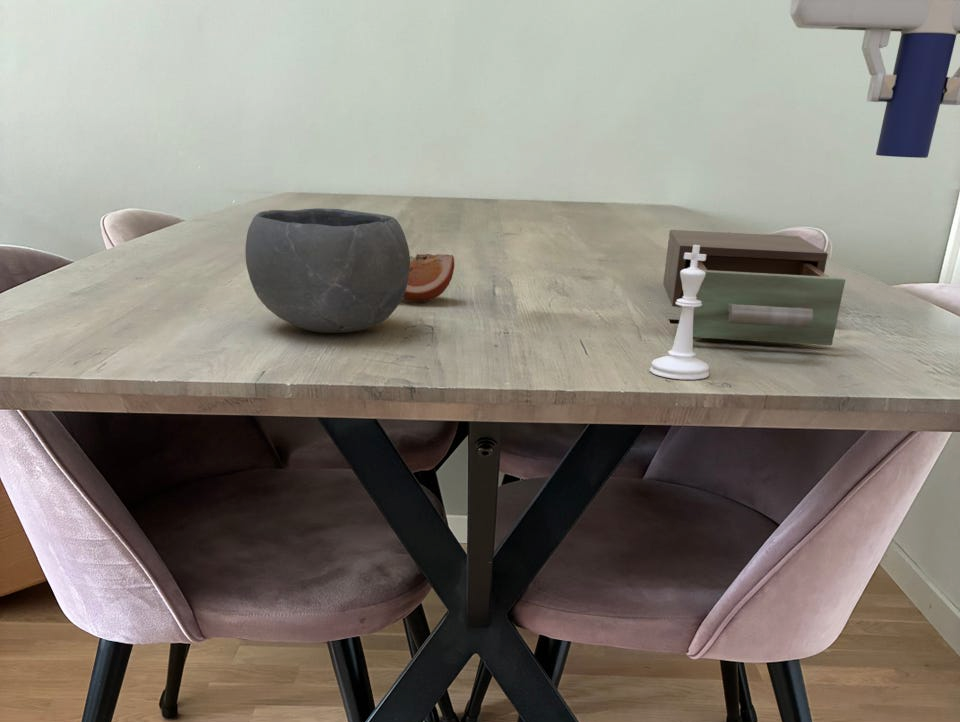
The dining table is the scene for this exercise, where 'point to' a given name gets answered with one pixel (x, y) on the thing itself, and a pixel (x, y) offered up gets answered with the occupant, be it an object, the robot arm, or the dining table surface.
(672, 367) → the chess piece
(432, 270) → the fruit slice
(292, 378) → the dining table surface
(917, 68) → the glue stick
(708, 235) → the cabinet
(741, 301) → the drawer
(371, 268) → the bowl
